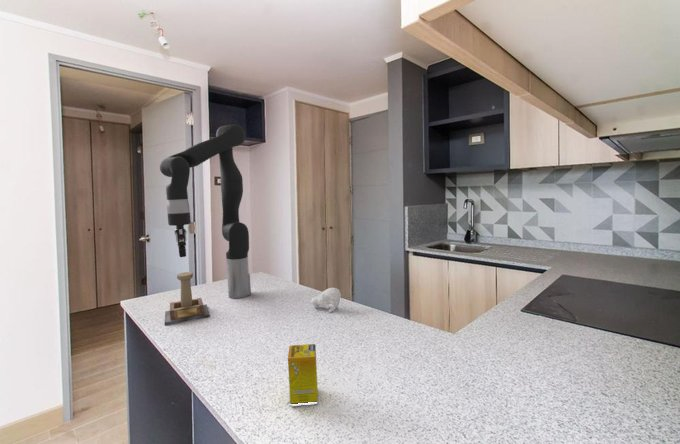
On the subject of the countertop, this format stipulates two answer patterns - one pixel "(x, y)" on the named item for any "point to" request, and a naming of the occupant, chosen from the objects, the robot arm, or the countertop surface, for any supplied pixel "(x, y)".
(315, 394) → the supplement box
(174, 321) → the socket
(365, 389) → the countertop surface
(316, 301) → the white animal figurine
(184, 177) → the robot arm
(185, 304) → the handle
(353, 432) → the countertop surface
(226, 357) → the countertop surface
